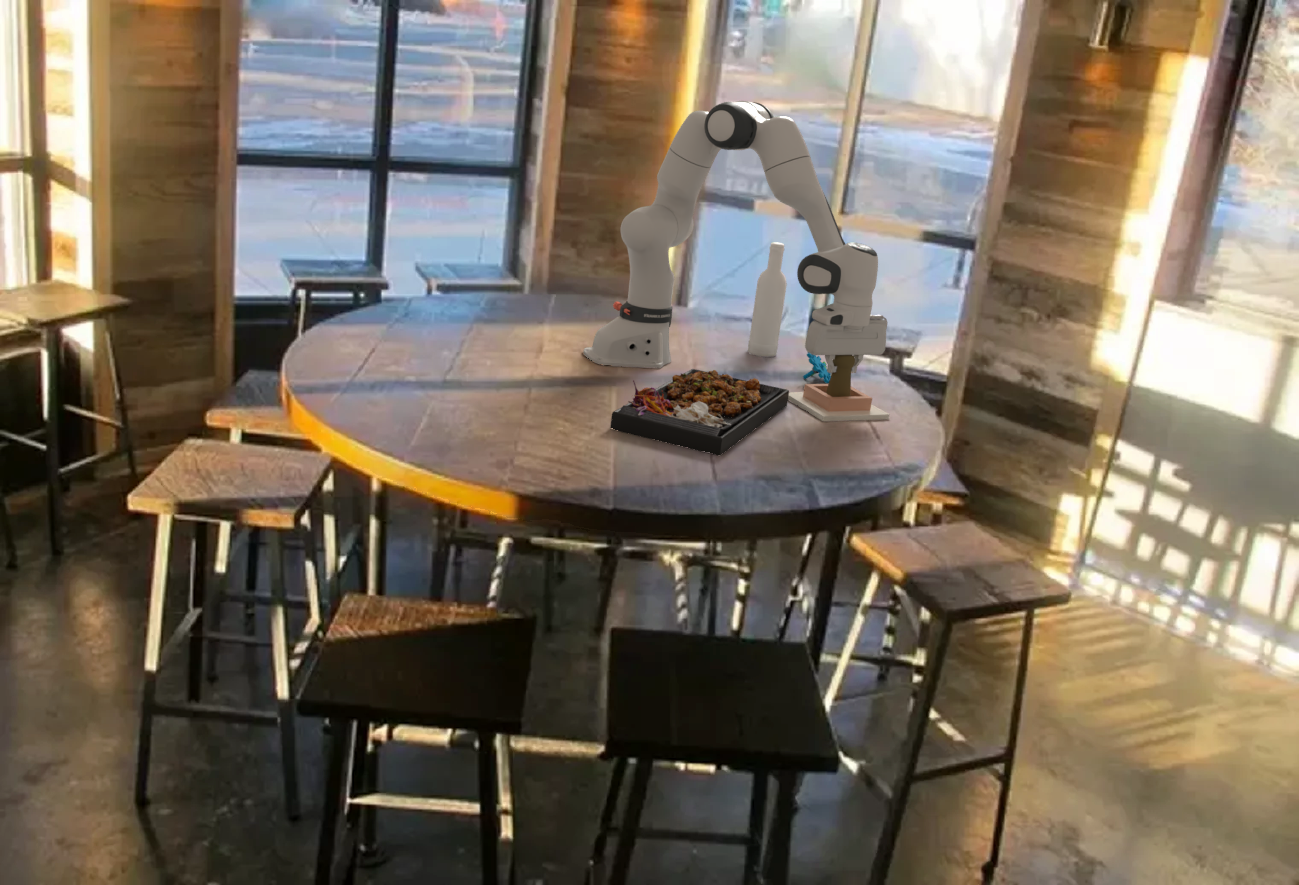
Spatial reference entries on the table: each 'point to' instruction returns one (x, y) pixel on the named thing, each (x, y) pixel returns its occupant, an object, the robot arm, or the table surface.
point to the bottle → (768, 306)
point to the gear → (818, 368)
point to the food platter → (700, 410)
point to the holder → (836, 404)
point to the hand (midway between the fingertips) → (841, 372)
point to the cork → (841, 376)
